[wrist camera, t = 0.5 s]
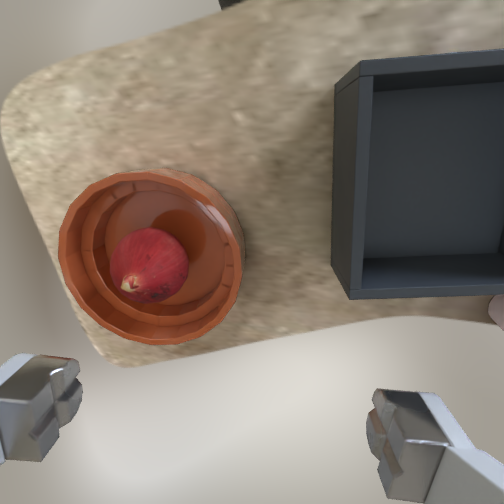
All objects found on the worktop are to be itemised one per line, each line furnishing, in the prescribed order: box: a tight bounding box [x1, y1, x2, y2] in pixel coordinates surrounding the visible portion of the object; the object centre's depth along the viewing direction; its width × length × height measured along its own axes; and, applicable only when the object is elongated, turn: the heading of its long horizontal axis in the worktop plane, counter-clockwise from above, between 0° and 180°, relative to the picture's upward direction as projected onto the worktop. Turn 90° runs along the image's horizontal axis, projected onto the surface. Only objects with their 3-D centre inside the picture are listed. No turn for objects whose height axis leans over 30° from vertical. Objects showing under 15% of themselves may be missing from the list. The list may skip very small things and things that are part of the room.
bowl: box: [58, 168, 246, 345], centre depth 26 cm, size 14×14×4 cm
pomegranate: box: [110, 227, 189, 304], centre depth 23 cm, size 6×6×8 cm
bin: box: [331, 49, 504, 300], centre depth 21 cm, size 15×15×7 cm
